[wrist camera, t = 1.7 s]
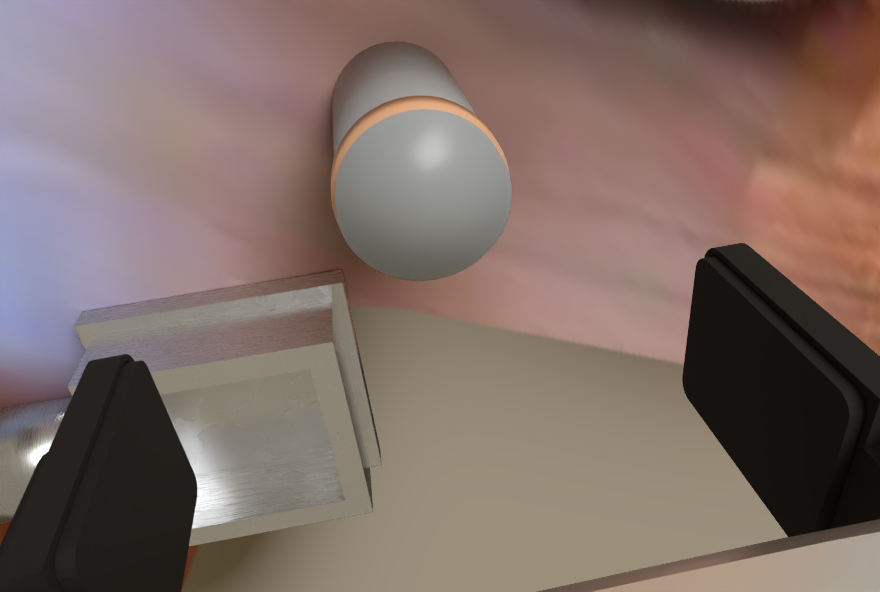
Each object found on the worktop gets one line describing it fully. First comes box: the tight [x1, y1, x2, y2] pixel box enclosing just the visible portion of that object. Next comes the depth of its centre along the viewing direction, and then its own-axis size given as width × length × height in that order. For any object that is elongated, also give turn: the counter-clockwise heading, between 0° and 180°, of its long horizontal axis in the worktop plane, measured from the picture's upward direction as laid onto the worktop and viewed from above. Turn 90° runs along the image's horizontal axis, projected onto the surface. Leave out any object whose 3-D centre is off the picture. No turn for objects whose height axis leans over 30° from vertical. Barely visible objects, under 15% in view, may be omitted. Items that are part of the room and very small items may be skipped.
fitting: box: [0, 270, 381, 546], centre depth 27 cm, size 16×10×4 cm, turn 96°
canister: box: [331, 42, 512, 281], centre depth 20 cm, size 5×5×8 cm
